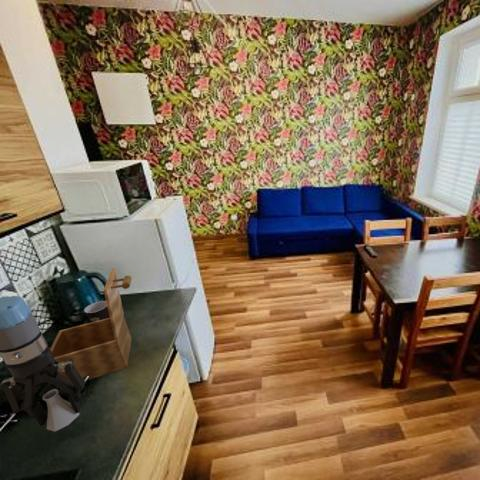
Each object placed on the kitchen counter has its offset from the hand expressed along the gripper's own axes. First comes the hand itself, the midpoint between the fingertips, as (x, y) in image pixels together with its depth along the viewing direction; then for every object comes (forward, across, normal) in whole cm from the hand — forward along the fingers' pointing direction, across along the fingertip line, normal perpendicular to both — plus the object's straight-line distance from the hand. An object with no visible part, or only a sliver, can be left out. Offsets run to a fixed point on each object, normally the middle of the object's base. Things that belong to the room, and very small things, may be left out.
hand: (61, 414), depth 75 cm
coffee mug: (+10, 0, +54) cm, 55 cm away
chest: (+9, +1, +30) cm, 31 cm away
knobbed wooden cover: (-15, +12, +30) cm, 35 cm away
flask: (+2, 0, 0) cm, 2 cm away
